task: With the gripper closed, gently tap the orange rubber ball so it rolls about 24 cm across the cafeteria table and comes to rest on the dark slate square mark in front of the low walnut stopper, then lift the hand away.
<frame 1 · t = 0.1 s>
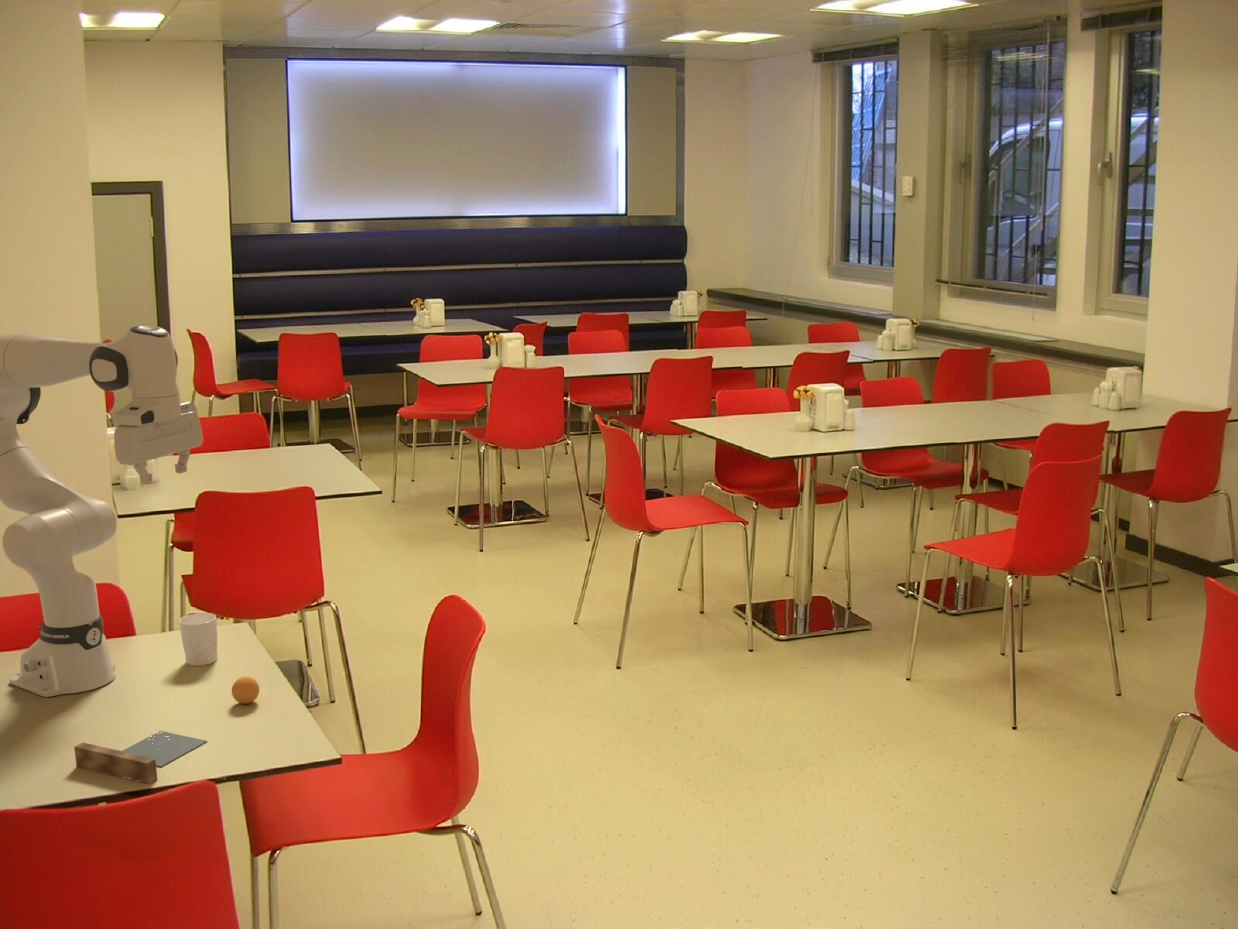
hand: (164, 477, 263), 48 cm above the table, tool pointing down, fingers open, 8 cm apart
stopper wall: (116, 773, 243), on the table
ball: (245, 690, 273), on the table
white cup: (202, 661, 298), on the table
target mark: (160, 749, 252), on the table
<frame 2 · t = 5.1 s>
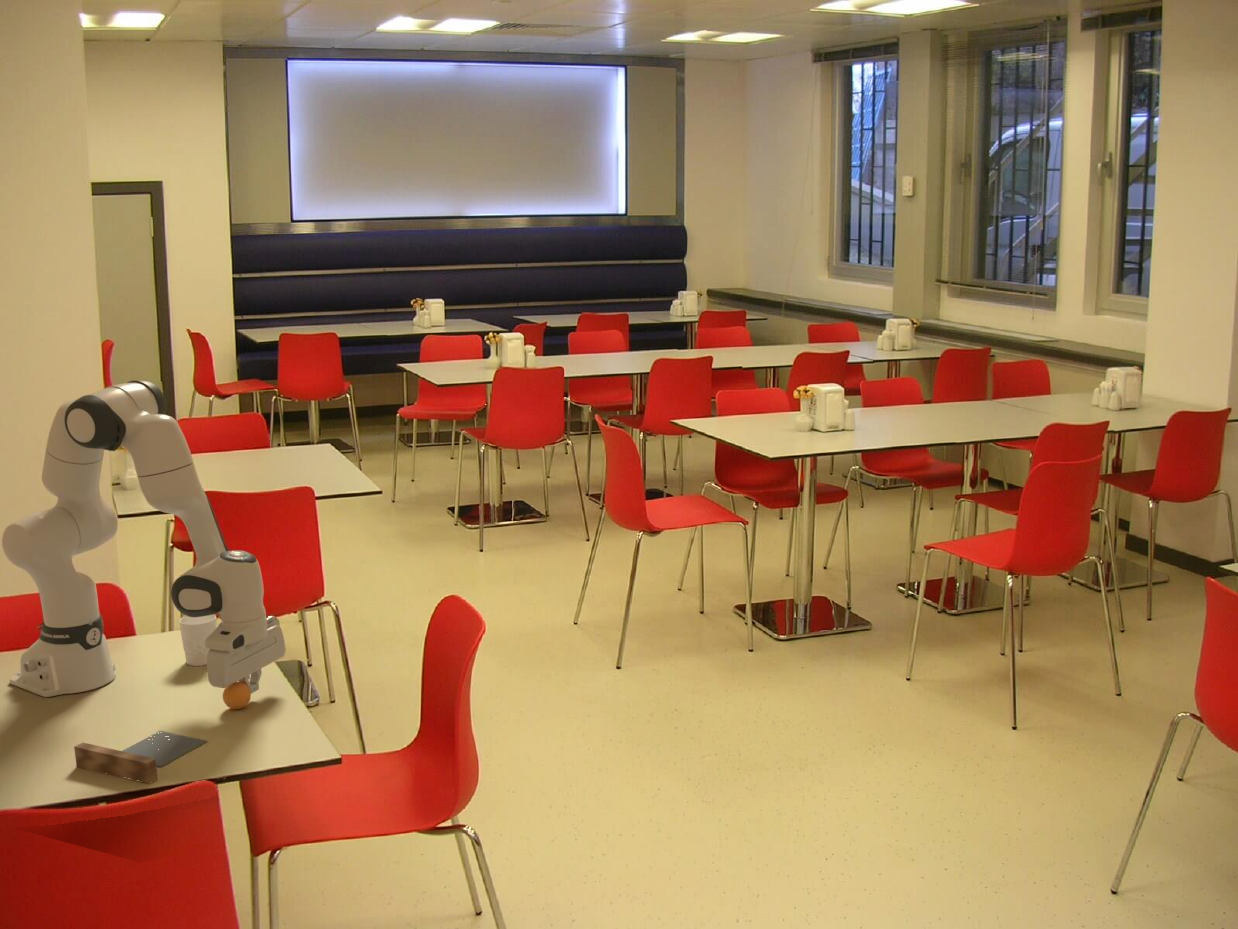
hand: (251, 692, 274), 2 cm above the table, tool pointing down, fingers closed
ball: (236, 695, 270), on the table
everything else where it was.
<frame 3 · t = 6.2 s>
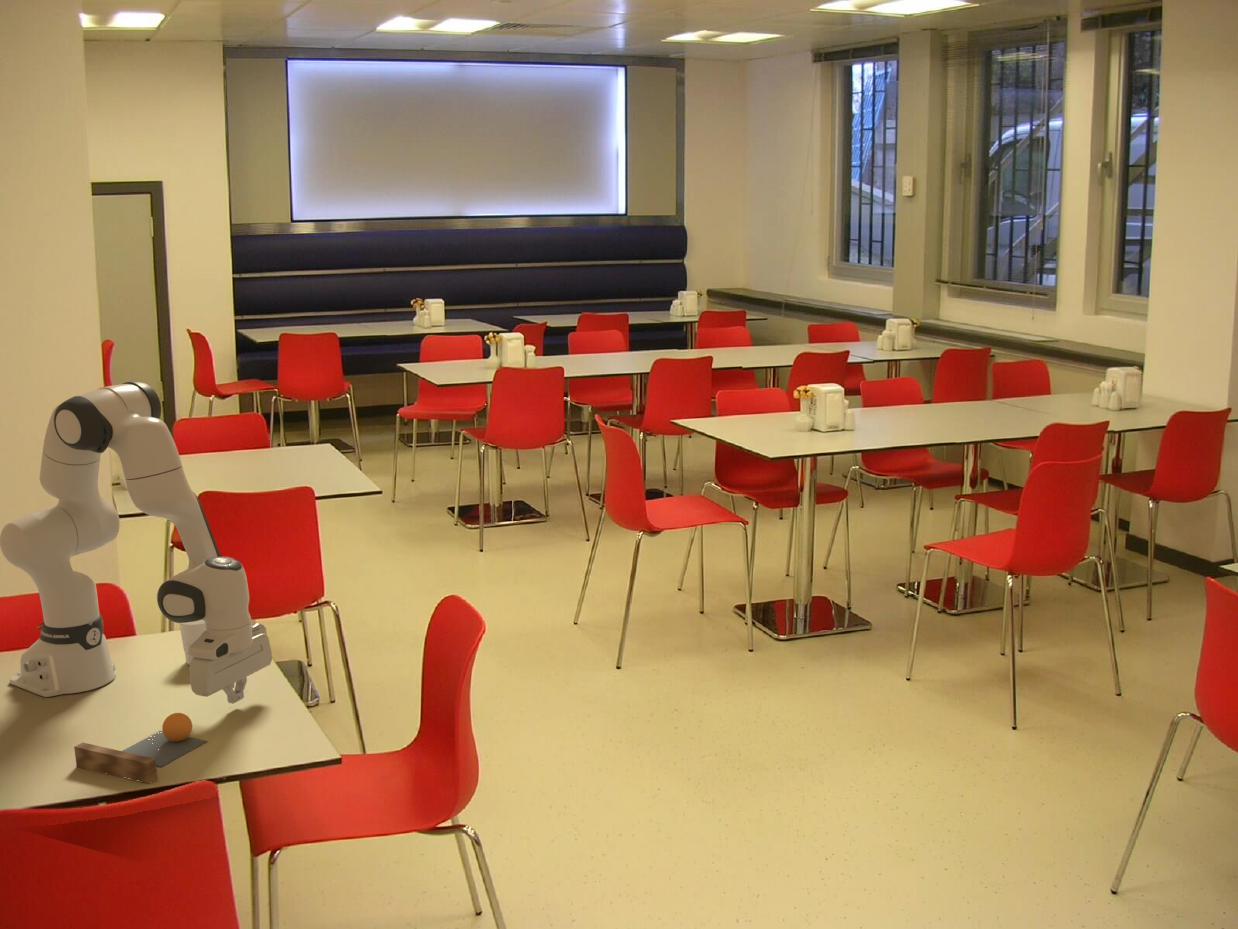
hand: (235, 700, 270), 2 cm above the table, tool pointing down, fingers closed
ball: (177, 727, 255), on the table
everything else where it was.
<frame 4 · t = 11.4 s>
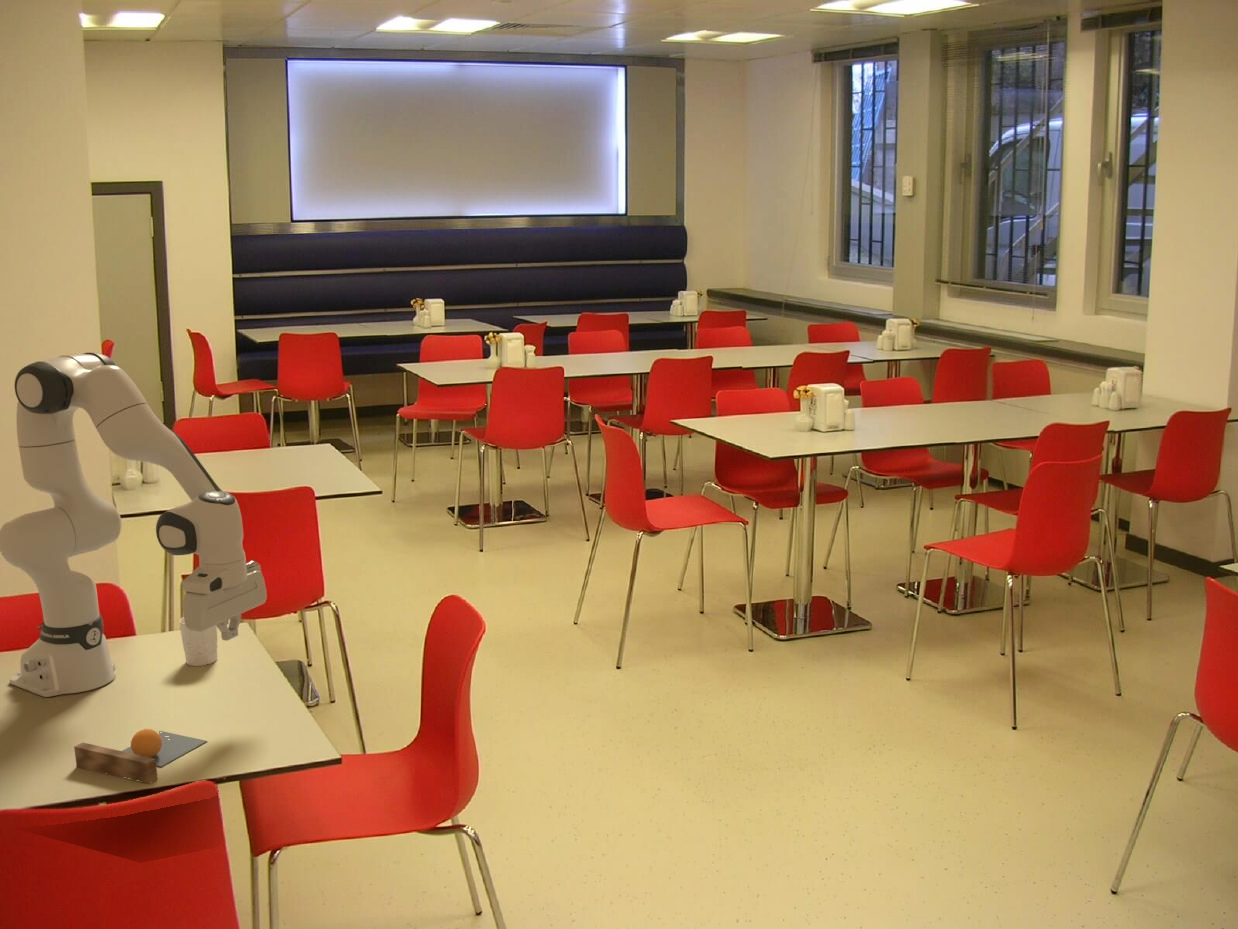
hand: (230, 638, 267), 15 cm above the table, tool pointing down, fingers closed
ball: (146, 744, 248), on the table
everything else where it was.
at the end: ball 3.8 cm from the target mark (horizontally); ball at rest at the end (0.0 cm/s); ball moved 27.8 cm from its start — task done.
